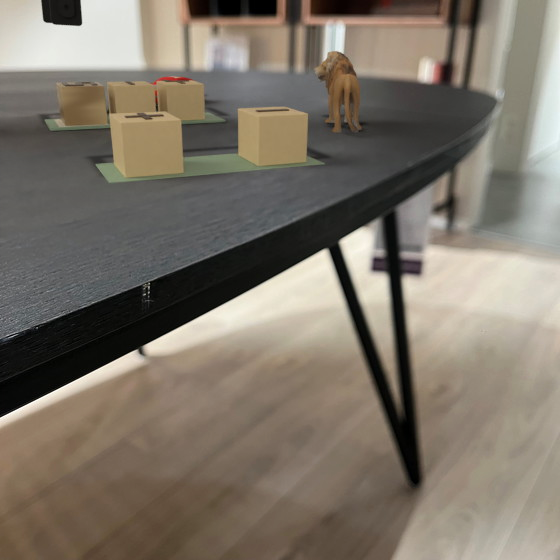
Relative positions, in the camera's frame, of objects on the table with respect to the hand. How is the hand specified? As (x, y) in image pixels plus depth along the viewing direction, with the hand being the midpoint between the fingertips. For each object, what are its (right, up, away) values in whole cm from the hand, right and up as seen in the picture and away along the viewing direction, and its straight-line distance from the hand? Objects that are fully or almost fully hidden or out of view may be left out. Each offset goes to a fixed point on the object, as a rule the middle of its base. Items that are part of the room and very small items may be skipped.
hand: (61, 24), depth 67 cm
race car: (+8, -2, +25) cm, 26 cm away
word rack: (+7, -9, +8) cm, 14 cm away
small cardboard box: (+1, -10, +5) cm, 11 cm away
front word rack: (+19, -20, -14) cm, 31 cm away
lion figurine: (+33, -10, +8) cm, 36 cm away
